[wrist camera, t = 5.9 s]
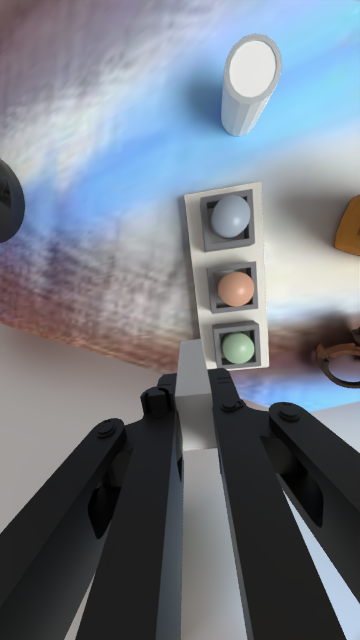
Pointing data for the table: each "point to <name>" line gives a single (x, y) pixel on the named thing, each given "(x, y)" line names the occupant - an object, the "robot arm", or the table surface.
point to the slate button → (230, 217)
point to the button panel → (223, 258)
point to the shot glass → (249, 82)
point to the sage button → (237, 347)
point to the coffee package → (350, 229)
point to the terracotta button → (235, 288)
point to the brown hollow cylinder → (336, 351)
